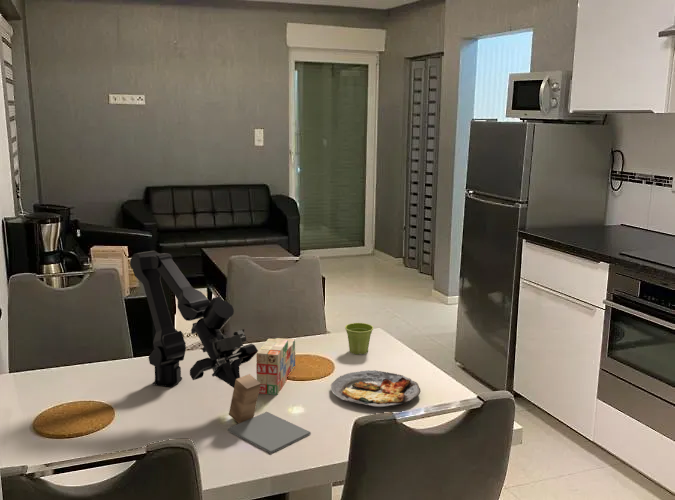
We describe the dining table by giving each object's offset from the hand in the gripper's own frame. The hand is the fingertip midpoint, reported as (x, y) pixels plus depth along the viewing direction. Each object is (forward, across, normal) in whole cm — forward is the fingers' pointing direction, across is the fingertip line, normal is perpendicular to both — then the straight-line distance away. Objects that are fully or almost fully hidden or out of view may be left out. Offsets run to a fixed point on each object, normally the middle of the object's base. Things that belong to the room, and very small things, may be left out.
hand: (239, 389), depth 163 cm
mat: (+13, 0, -2) cm, 14 cm away
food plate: (+17, +37, -5) cm, 41 cm away
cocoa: (-16, +24, +28) cm, 40 cm away
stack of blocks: (-2, +24, +14) cm, 28 cm away
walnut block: (+5, 0, +5) cm, 7 cm away
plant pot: (-1, +59, +12) cm, 60 cm away
